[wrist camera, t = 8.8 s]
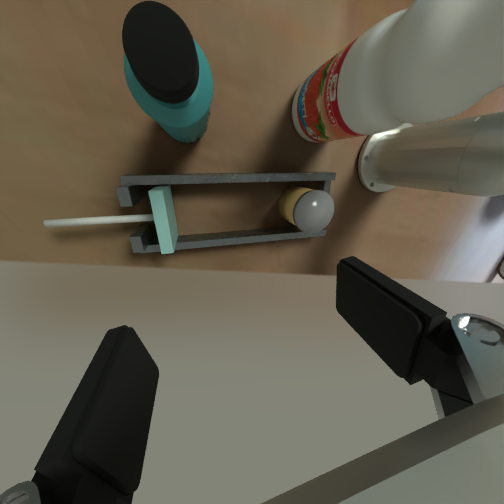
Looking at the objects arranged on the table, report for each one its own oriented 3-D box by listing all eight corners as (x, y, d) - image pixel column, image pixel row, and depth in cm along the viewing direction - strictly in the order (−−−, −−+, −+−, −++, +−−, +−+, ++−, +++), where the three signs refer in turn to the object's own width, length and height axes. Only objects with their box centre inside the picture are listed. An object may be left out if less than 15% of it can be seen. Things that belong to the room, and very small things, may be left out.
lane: (324, 171, 37) (345, 173, 31) (316, 230, 41) (333, 240, 36) (127, 174, 29) (112, 177, 24) (145, 245, 34) (135, 260, 29)
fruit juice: (335, 145, 35) (658, 106, 11) (286, 141, 33) (552, 82, 8) (348, 78, 31) (900, -229, 7) (293, 68, 29) (823, -440, 4)
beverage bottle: (199, 152, 31) (203, 140, 13) (153, 131, 28) (80, 80, 10) (213, 106, 29) (239, 18, 11) (165, 79, 26) (99, -89, 9)
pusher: (170, 184, 31) (162, 190, 24) (178, 234, 35) (173, 252, 28) (51, 187, 28) (2, 195, 21) (74, 243, 31) (39, 266, 24)
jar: (312, 185, 37) (337, 190, 31) (307, 220, 40) (330, 231, 33) (279, 185, 36) (297, 190, 29) (276, 222, 38) (293, 234, 32)
